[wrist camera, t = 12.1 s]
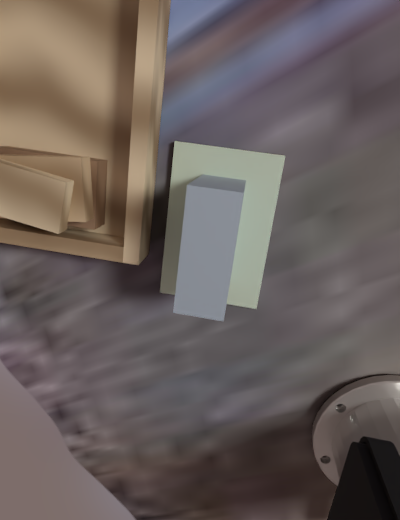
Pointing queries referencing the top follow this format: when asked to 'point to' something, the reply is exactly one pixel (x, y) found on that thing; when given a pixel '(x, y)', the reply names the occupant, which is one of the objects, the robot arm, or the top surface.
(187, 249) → the grey rectangular block
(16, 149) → the tan flat block
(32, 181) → the offcut pine
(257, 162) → the mat
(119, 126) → the tray
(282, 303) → the top surface
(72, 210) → the offcut oak
